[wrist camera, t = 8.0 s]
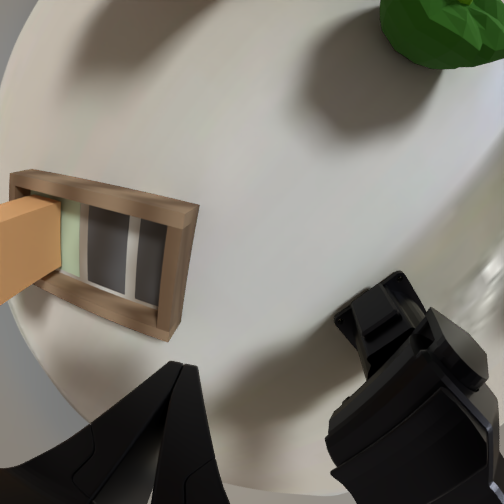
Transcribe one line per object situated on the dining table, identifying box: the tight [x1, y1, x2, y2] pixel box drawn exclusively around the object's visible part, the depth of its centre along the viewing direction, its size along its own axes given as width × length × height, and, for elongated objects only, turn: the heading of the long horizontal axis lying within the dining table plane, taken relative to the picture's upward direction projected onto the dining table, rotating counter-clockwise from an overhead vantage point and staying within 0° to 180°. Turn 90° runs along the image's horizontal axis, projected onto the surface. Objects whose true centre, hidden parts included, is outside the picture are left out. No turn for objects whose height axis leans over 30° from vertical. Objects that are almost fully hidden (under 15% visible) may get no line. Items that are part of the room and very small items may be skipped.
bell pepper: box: [380, 0, 504, 69], centre depth 9 cm, size 8×8×10 cm
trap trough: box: [9, 169, 200, 342], centre depth 20 cm, size 18×10×3 cm, turn 76°
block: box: [0, 194, 61, 305], centre depth 17 cm, size 4×6×9 cm, turn 166°
